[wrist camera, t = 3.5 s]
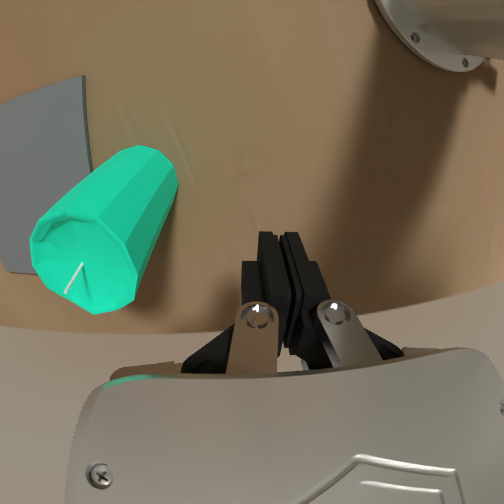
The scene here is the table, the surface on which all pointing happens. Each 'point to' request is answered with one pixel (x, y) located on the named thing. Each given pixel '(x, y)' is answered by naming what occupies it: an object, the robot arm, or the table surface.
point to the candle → (105, 230)
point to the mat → (39, 162)
